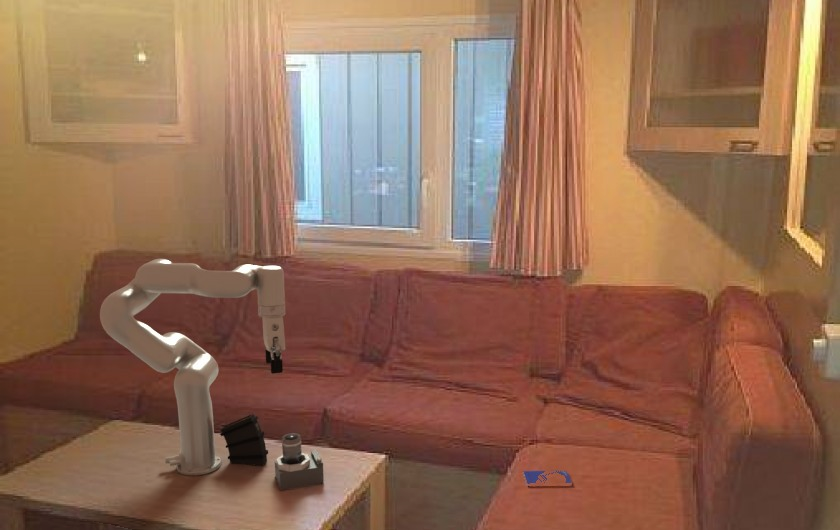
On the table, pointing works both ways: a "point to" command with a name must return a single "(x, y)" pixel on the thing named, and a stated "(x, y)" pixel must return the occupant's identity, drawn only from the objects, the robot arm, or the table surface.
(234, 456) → the black device
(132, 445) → the table surface
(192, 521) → the table surface
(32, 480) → the table surface
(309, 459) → the camera body
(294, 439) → the lens
